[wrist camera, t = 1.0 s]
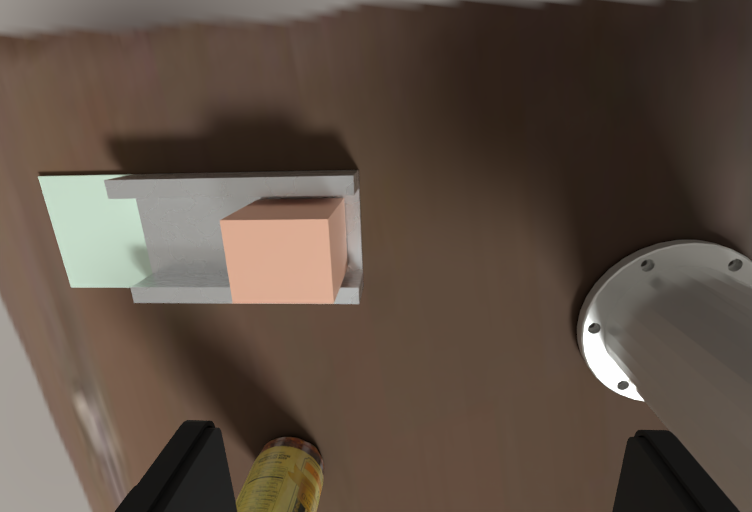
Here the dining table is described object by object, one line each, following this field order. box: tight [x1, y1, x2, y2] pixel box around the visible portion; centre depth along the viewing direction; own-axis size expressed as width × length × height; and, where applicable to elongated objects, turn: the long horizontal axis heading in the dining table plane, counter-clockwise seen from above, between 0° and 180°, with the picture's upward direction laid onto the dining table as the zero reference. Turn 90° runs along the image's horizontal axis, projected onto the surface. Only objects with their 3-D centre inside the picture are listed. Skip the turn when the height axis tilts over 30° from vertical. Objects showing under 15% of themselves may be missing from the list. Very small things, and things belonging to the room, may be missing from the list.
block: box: [220, 198, 348, 304], centre depth 25 cm, size 6×5×6 cm
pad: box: [38, 174, 153, 288], centre depth 30 cm, size 7×9×1 cm
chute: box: [104, 170, 364, 304], centre depth 28 cm, size 16×9×3 cm, turn 92°
